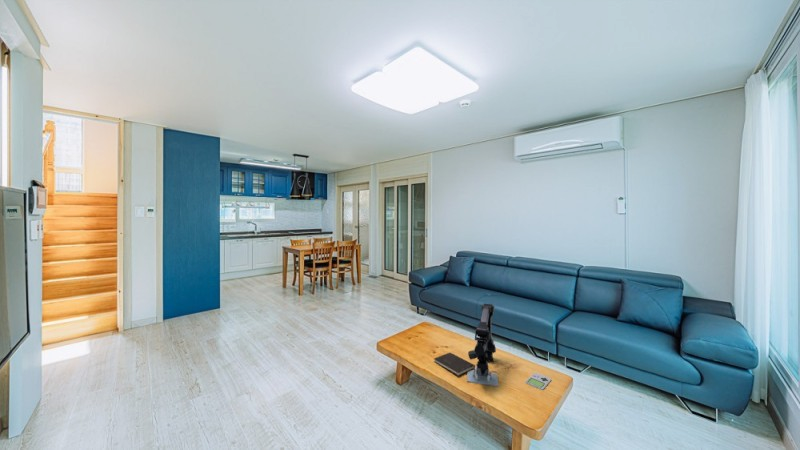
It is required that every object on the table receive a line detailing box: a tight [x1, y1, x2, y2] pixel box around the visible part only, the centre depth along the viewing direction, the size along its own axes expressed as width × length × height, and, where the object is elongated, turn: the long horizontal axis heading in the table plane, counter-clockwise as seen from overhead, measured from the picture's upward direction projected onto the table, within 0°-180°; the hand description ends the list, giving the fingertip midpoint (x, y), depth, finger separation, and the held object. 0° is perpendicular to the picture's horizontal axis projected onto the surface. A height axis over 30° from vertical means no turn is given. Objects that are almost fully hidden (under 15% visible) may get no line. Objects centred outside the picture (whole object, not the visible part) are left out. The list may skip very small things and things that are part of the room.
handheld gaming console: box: [525, 372, 552, 391], centre depth 169 cm, size 10×2×15 cm
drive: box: [475, 363, 489, 377], centre depth 172 cm, size 4×7×5 cm, turn 75°
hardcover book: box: [433, 352, 476, 377], centre depth 187 cm, size 16×23×2 cm
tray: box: [466, 366, 499, 387], centre depth 172 cm, size 12×18×4 cm, turn 75°
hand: (482, 372), depth 172 cm, fingers closed on drive, 4 cm apart
